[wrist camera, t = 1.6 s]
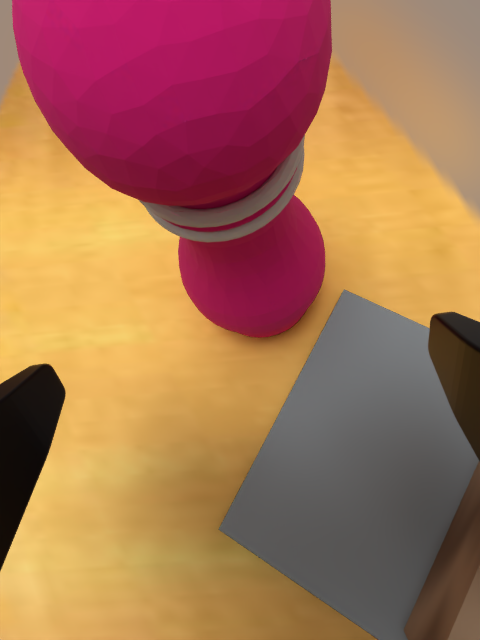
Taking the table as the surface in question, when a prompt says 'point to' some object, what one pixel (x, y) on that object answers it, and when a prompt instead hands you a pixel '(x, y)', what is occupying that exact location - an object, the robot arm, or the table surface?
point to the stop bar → (453, 579)
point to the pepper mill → (196, 132)
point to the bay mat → (358, 471)
